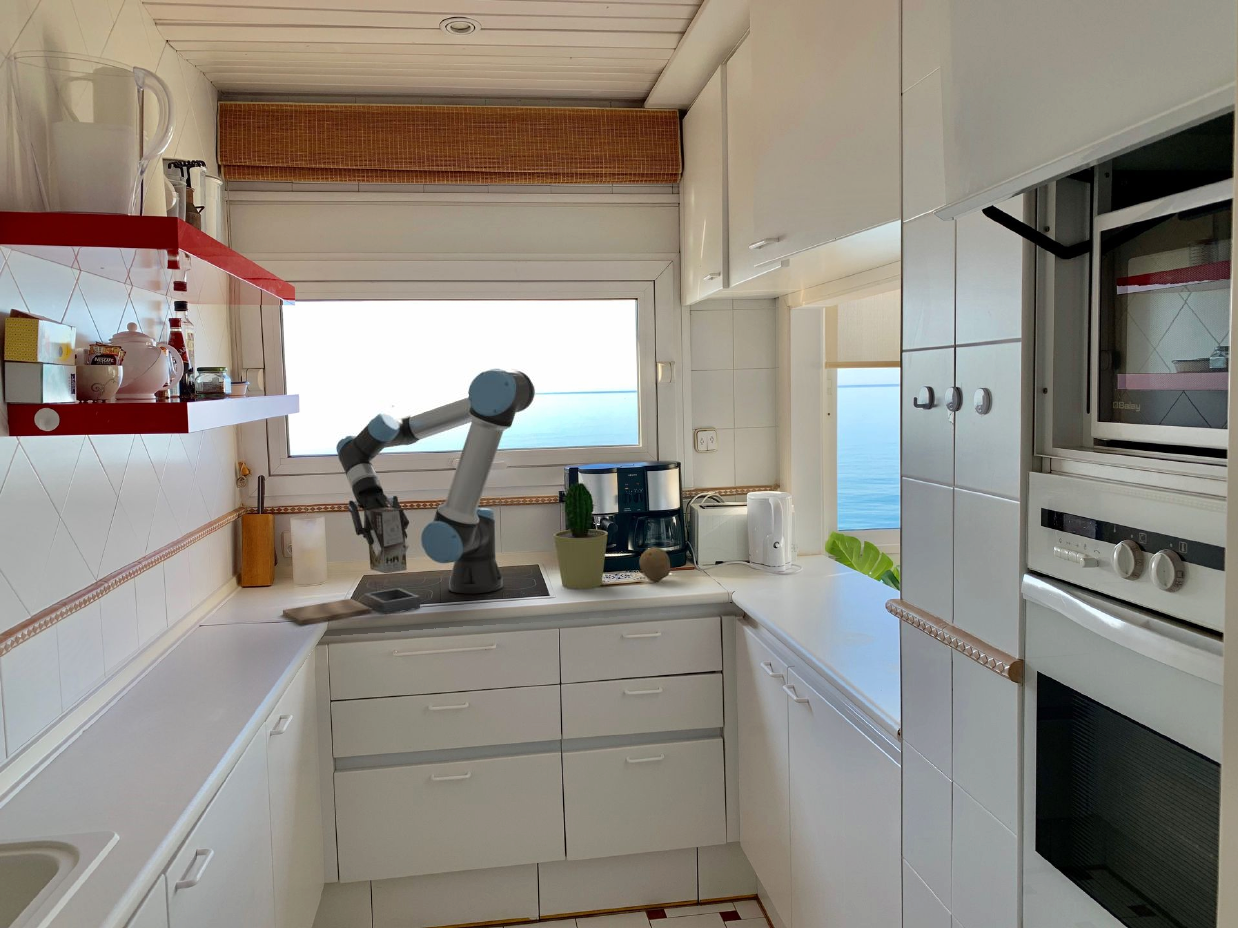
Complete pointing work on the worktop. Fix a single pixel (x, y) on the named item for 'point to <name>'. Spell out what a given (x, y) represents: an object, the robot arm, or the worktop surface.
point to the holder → (391, 600)
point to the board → (326, 611)
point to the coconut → (655, 564)
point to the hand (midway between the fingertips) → (392, 550)
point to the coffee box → (388, 540)
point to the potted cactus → (580, 542)
